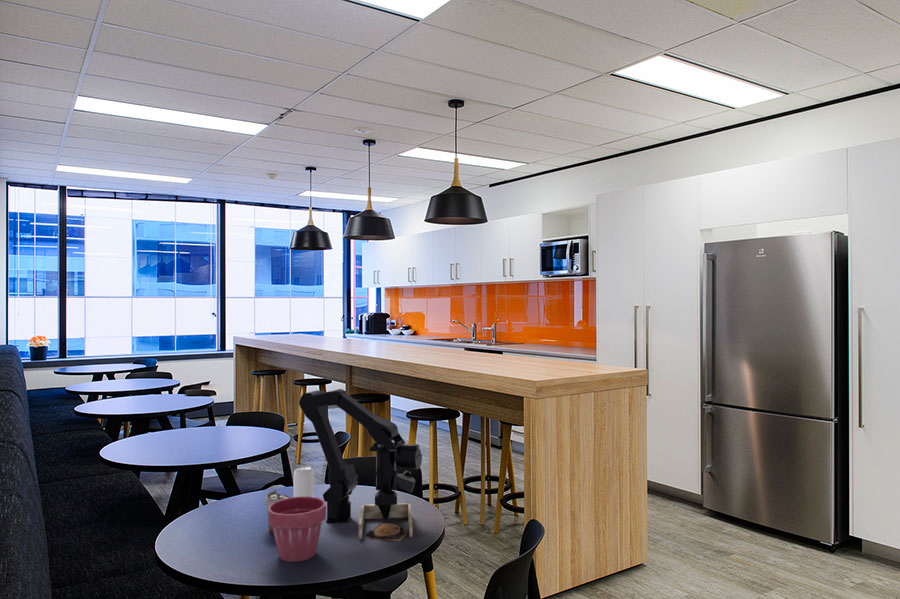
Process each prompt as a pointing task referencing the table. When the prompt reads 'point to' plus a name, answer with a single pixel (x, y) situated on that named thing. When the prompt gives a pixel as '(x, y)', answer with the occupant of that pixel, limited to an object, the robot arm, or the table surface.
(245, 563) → the table surface
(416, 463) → the robot arm
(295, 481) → the can
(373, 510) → the frame
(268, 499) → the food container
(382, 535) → the bread roll
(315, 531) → the plant pot
